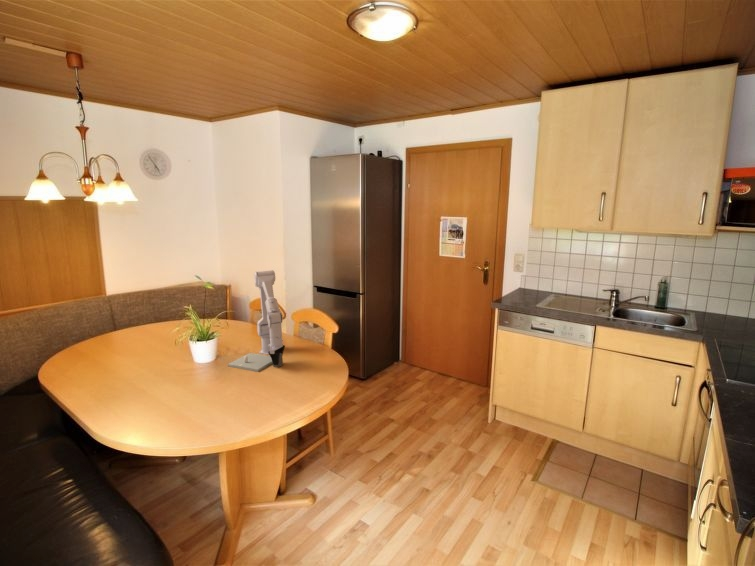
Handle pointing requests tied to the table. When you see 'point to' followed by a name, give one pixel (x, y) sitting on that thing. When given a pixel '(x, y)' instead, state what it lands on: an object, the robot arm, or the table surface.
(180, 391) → the table surface
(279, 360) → the knob
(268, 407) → the table surface
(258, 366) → the grey square plate
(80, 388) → the table surface
